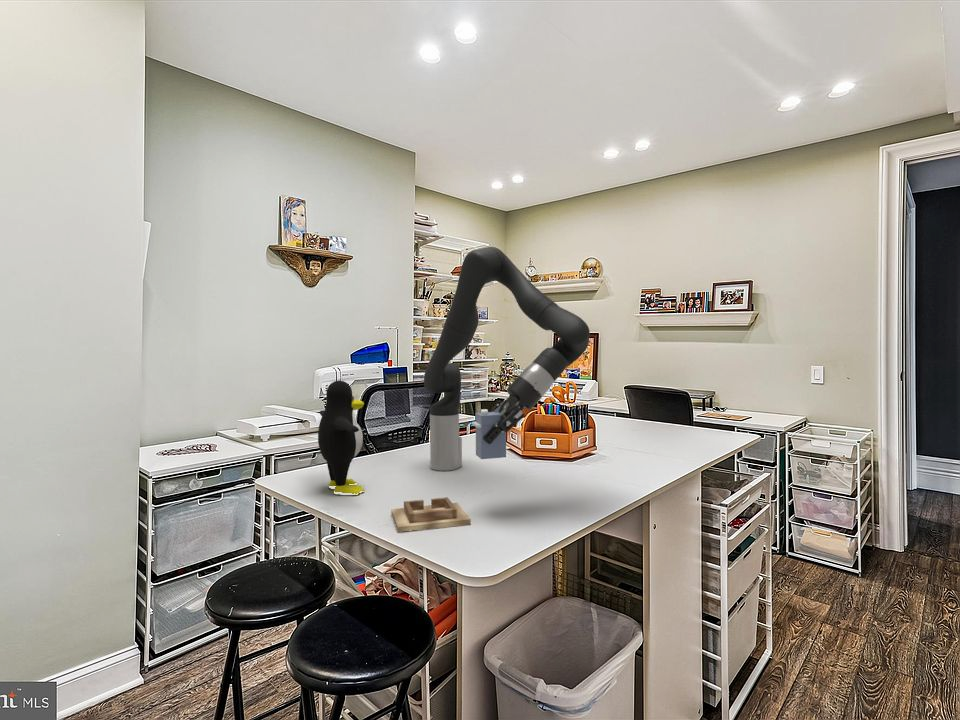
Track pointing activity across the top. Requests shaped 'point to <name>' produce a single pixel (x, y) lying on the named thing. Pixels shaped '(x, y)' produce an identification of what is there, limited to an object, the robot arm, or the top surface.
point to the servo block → (483, 425)
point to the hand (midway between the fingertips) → (482, 439)
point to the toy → (340, 435)
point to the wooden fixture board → (429, 515)
